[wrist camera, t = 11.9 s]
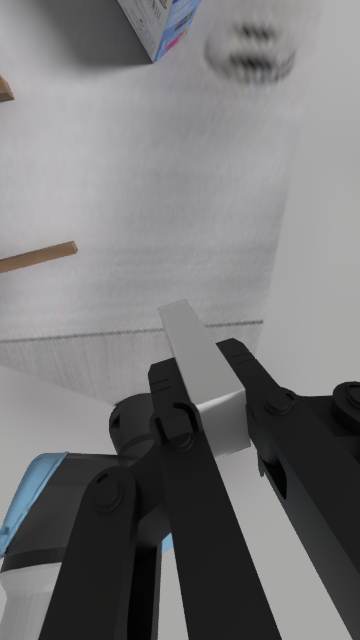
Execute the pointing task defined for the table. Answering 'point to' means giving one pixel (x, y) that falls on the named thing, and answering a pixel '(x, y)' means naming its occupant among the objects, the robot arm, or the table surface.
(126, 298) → the table surface
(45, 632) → the robot arm
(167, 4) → the ink cartridge box
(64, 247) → the chute
